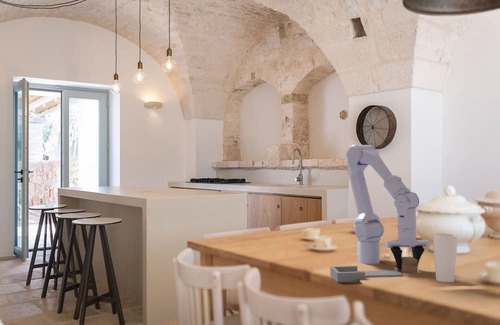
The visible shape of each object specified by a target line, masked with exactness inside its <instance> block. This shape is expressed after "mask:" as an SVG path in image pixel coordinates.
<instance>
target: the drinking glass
mask: <svg viewBox="0 0 500 325" xmlns="http://www.w3.org/2000/svg"><path fill="white" fill-rule="evenodd" d="M432 244H433V246H432V247H433V257H434V270H435V280H436V281H438V282H443V283H454V282H455V278H456V277H455V274H456V273H455V272H456V262H457V252H458V251H457V250H458V249H457V248H458V240H457V235H456V234H452V233H440V232H439V233H434V234H433V242H432Z"/></svg>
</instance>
